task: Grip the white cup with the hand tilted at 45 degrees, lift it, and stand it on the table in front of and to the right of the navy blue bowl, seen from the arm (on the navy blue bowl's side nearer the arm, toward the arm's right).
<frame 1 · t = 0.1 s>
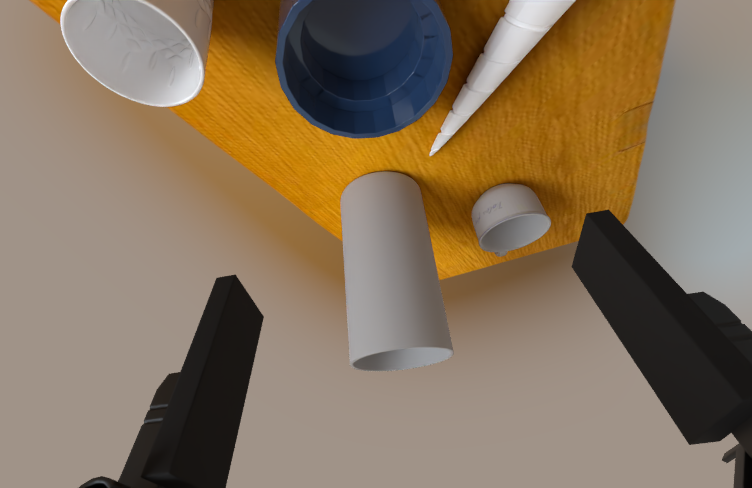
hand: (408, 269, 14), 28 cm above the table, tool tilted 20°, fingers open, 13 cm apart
cylinder vase: (380, 194, 55), on the table
navy blue bowl: (359, 25, 32), on the table
teacup: (496, 200, 59), on the table
unicorn horn: (483, 67, 37), on the table
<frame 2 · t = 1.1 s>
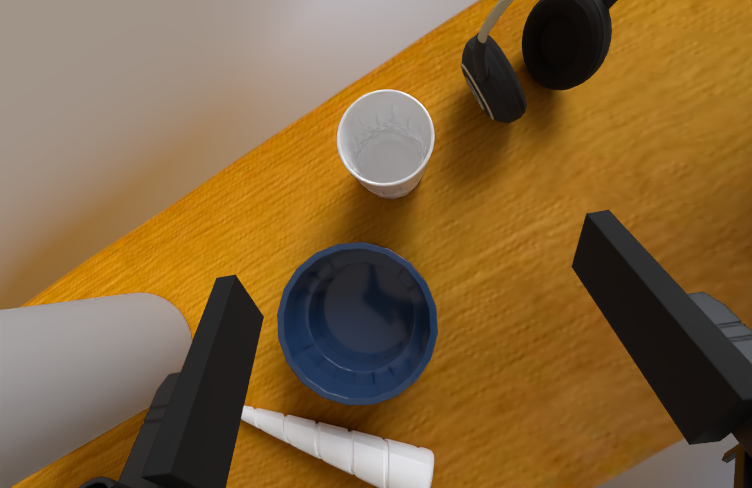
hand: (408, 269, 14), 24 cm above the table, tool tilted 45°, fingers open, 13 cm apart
cylinder vase: (146, 346, 40), on the table
white cup: (391, 169, 38), on the table
navy blue bowl: (365, 311, 38), on the table
headphones: (514, 83, 37), on the table
unicorn horn: (329, 436, 38), on the table
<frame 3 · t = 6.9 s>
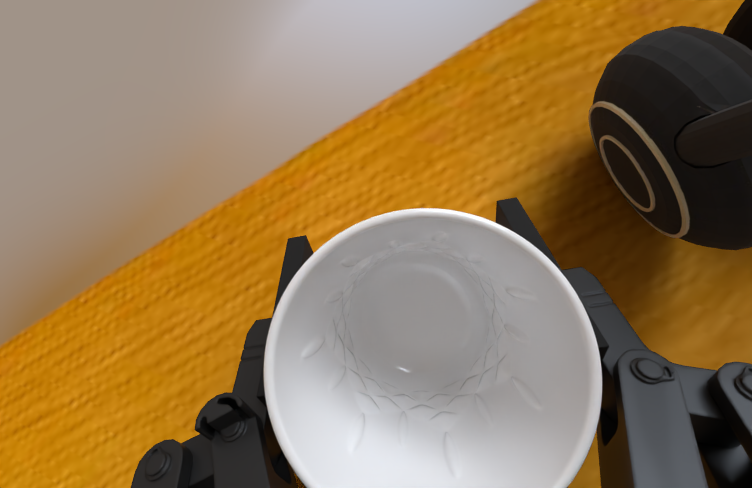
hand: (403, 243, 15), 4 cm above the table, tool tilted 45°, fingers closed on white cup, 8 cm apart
white cup: (415, 310, 18), on the table, touching gripper
headphones: (680, 138, 18), on the table
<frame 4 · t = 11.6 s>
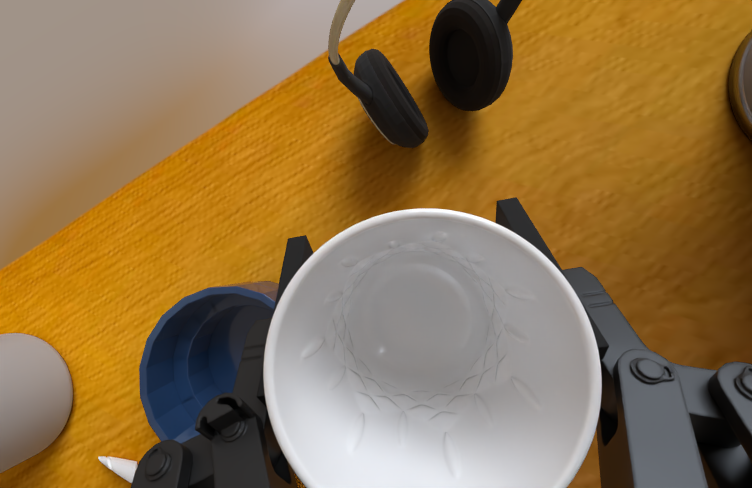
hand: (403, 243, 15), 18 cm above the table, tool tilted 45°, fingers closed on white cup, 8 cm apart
cylinder vase: (24, 392, 36), on the table
white cup: (415, 311, 18), point 15 cm above the table, touching gripper
navy blue bowl: (262, 354, 34), on the table
headphones: (426, 102, 34), on the table
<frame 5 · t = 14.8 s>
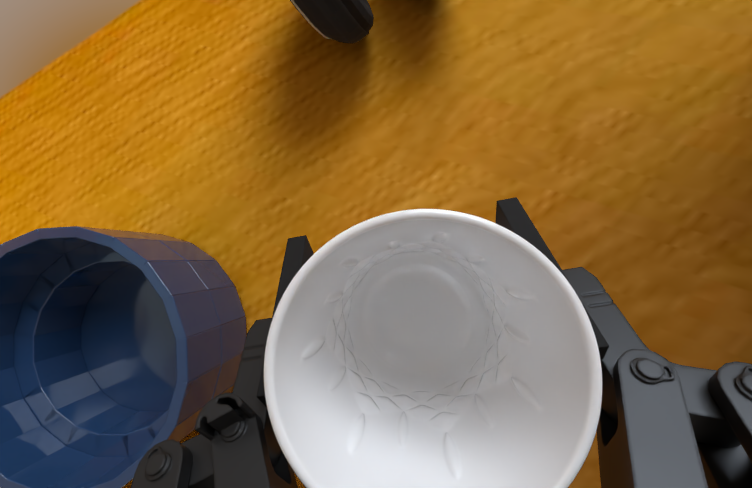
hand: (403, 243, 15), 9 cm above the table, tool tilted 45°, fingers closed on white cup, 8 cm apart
white cup: (415, 311, 18), point 5 cm above the table, touching gripper
navy blue bowl: (154, 334, 25), on the table
when the fingers open (4 cm above the table, at t = 16.8 s): white cup stays where it is, on the table.
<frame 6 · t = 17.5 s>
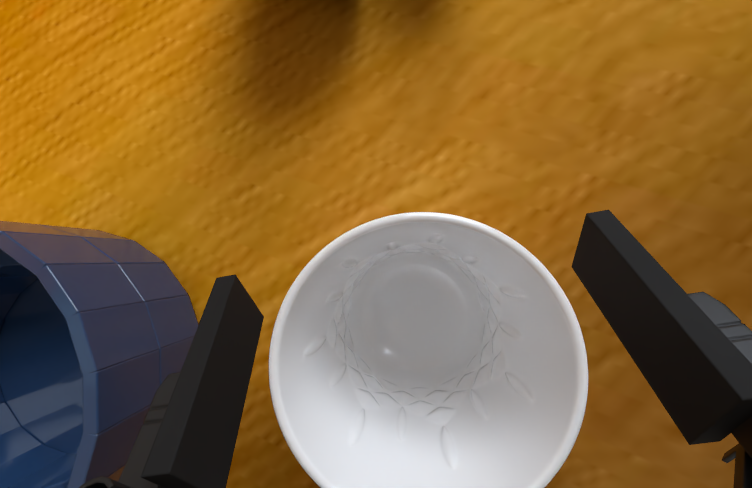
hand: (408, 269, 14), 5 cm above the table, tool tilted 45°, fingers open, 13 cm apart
white cup: (413, 310, 19), on the table
navy blue bowl: (89, 354, 20), on the table
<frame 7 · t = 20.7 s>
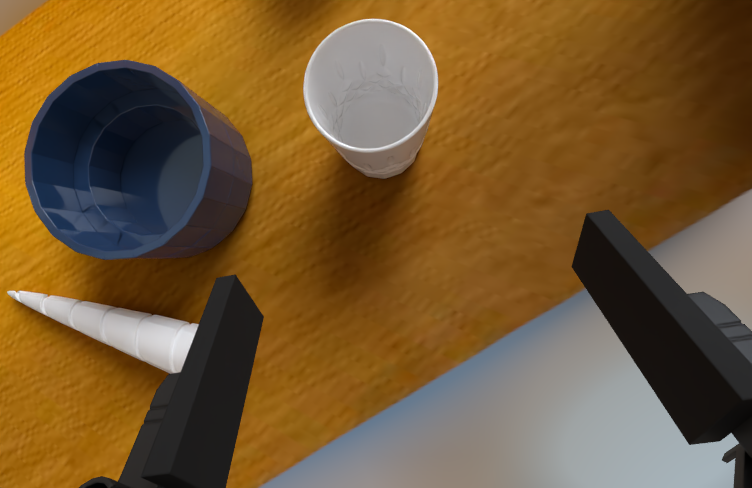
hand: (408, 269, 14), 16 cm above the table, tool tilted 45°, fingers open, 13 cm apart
white cup: (381, 141, 30), on the table
navy blue bowl: (179, 179, 32), on the table
unicorn horn: (138, 327, 32), on the table
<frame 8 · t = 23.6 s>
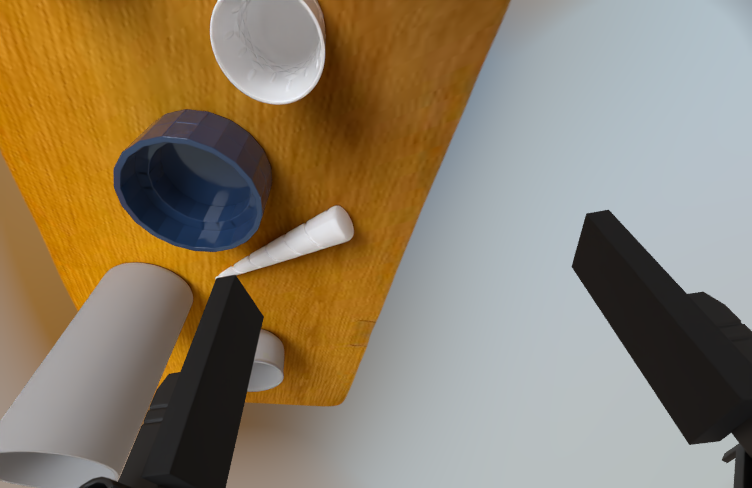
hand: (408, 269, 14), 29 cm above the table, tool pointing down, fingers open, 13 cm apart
cylinder vase: (152, 287, 55), on the table
white cup: (287, 21, 32), on the table
navy blue bowl: (211, 168, 42), on the table
teacup: (254, 340, 66), on the table
unicorn horn: (283, 243, 50), on the table
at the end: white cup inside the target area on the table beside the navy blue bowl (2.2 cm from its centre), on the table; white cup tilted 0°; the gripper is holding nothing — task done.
